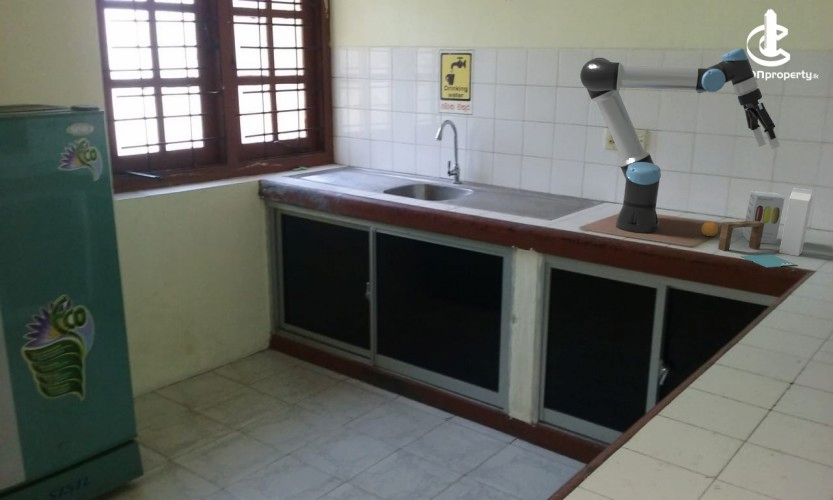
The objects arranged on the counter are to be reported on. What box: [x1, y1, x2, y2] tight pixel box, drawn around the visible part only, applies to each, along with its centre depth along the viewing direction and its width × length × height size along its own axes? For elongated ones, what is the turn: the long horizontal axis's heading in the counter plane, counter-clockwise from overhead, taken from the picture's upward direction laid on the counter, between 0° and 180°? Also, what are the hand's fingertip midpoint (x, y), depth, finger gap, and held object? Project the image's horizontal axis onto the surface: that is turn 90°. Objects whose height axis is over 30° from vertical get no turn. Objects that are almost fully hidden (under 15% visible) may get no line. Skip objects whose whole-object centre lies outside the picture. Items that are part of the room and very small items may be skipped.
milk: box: [778, 187, 813, 257], centre depth 248 cm, size 6×6×22 cm
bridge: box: [717, 220, 764, 252], centre depth 252 cm, size 14×3×9 cm, turn 107°
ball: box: [700, 220, 719, 237], centre depth 267 cm, size 6×6×6 cm
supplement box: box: [742, 190, 785, 245], centre depth 264 cm, size 10×9×17 cm
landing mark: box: [740, 253, 797, 268], centre depth 241 cm, size 12×12×1 cm
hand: (768, 146), depth 268 cm, fingers open, 13 cm apart
